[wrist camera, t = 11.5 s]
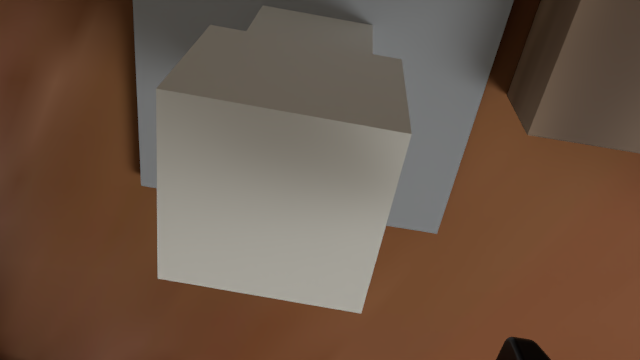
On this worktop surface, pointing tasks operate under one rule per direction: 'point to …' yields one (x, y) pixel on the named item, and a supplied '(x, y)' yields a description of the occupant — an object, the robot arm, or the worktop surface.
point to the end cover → (280, 159)
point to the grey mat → (388, 40)
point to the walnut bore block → (581, 74)
